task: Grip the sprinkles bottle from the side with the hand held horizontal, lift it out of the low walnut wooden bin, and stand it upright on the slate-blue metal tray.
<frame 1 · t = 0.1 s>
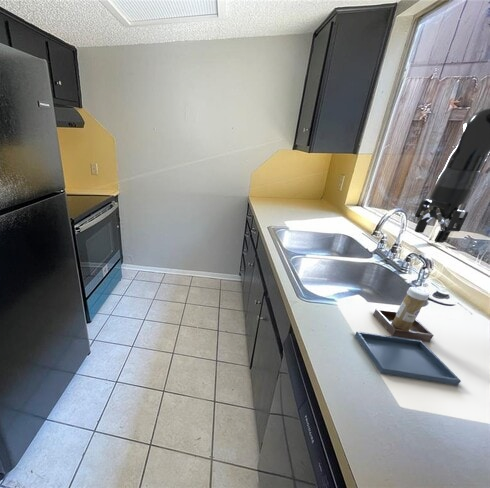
hand: (428, 236, 81), 27 cm above the worktop, tool pointing down, fingers open, 8 cm apart
sprinkles bottle: (400, 326, 81), point 1 cm above the worktop, touching bin
tray: (400, 359, 70), on the worktop
bin: (399, 328, 82), on the worktop
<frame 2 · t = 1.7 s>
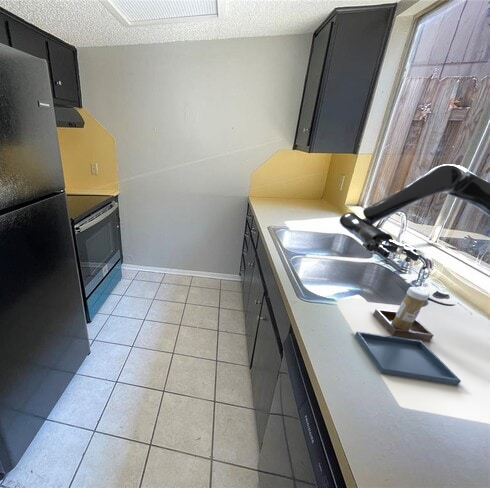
hand: (402, 256, 83), 20 cm above the worktop, tool horizontal, fingers open, 8 cm apart
nothing on the worktop moved.
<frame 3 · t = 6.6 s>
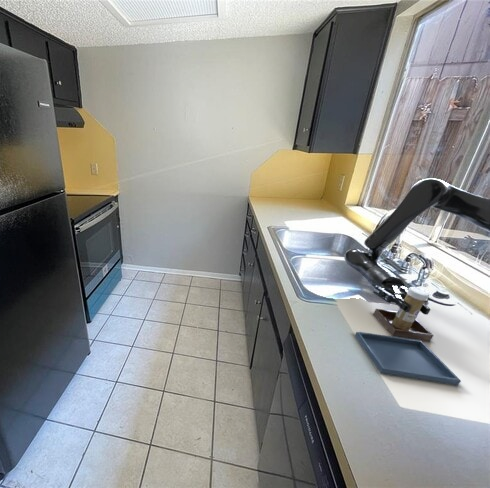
hand: (418, 310, 75), 9 cm above the worktop, tool horizontal, fingers closed on sprinkles bottle, 4 cm apart
sprinkles bottle: (400, 326, 81), point 1 cm above the worktop, touching bin, gripper
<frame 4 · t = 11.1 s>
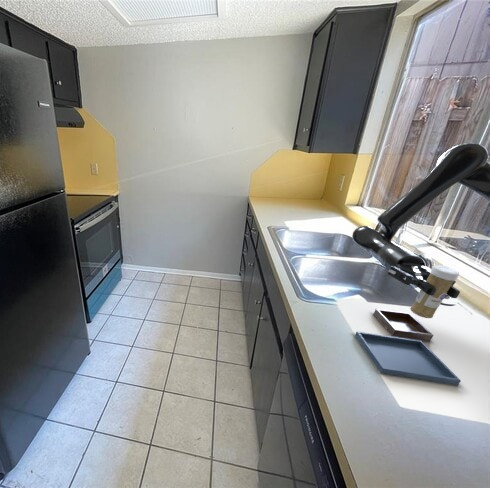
hand: (444, 293, 62), 21 cm above the worktop, tool horizontal, fingers closed on sprinkles bottle, 4 cm apart
sprinkles bottle: (420, 313, 68), point 13 cm above the worktop, touching gripper
when the fingers open (9 cm above the worktop, at t = 15.3 s): sprinkles bottle stays where it is, resting on tray.
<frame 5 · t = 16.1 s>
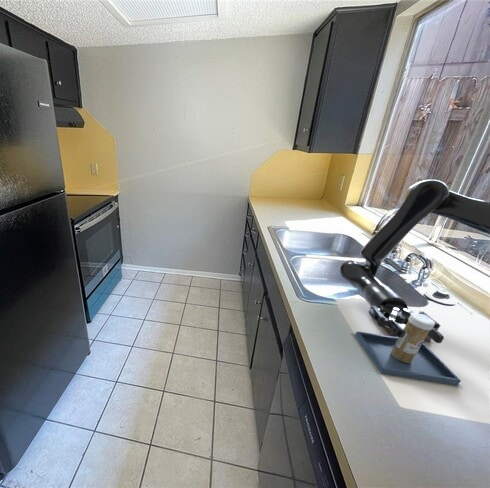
hand: (421, 337, 64), 10 cm above the worktop, tool horizontal, fingers open, 8 cm apart
sprinkles bottle: (400, 357, 70), resting on tray
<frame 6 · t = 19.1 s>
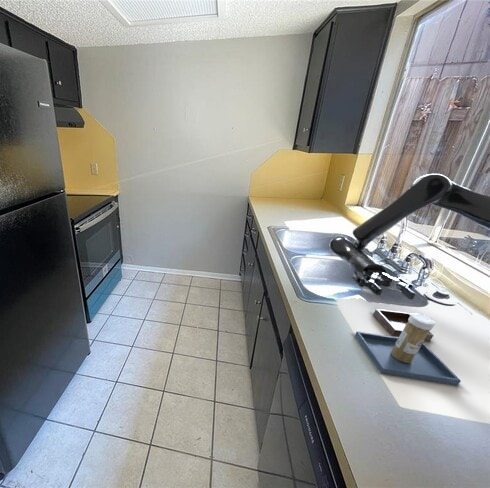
hand: (396, 294, 74), 14 cm above the worktop, tool horizontal, fingers open, 8 cm apart
nothing on the worktop moved.
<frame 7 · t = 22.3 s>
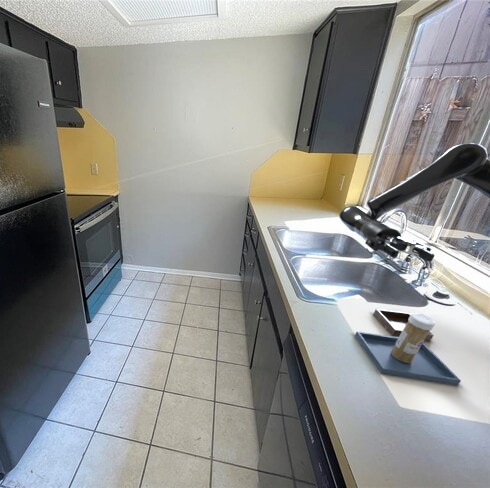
hand: (413, 256, 69), 26 cm above the worktop, tool horizontal, fingers open, 8 cm apart
nothing on the worktop moved.
at the end: sprinkles bottle inside the target area in the tray (0.2 cm from its centre), point 0.4 cm above the tray's base; sprinkles bottle tilted 0°; the gripper is holding nothing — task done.
